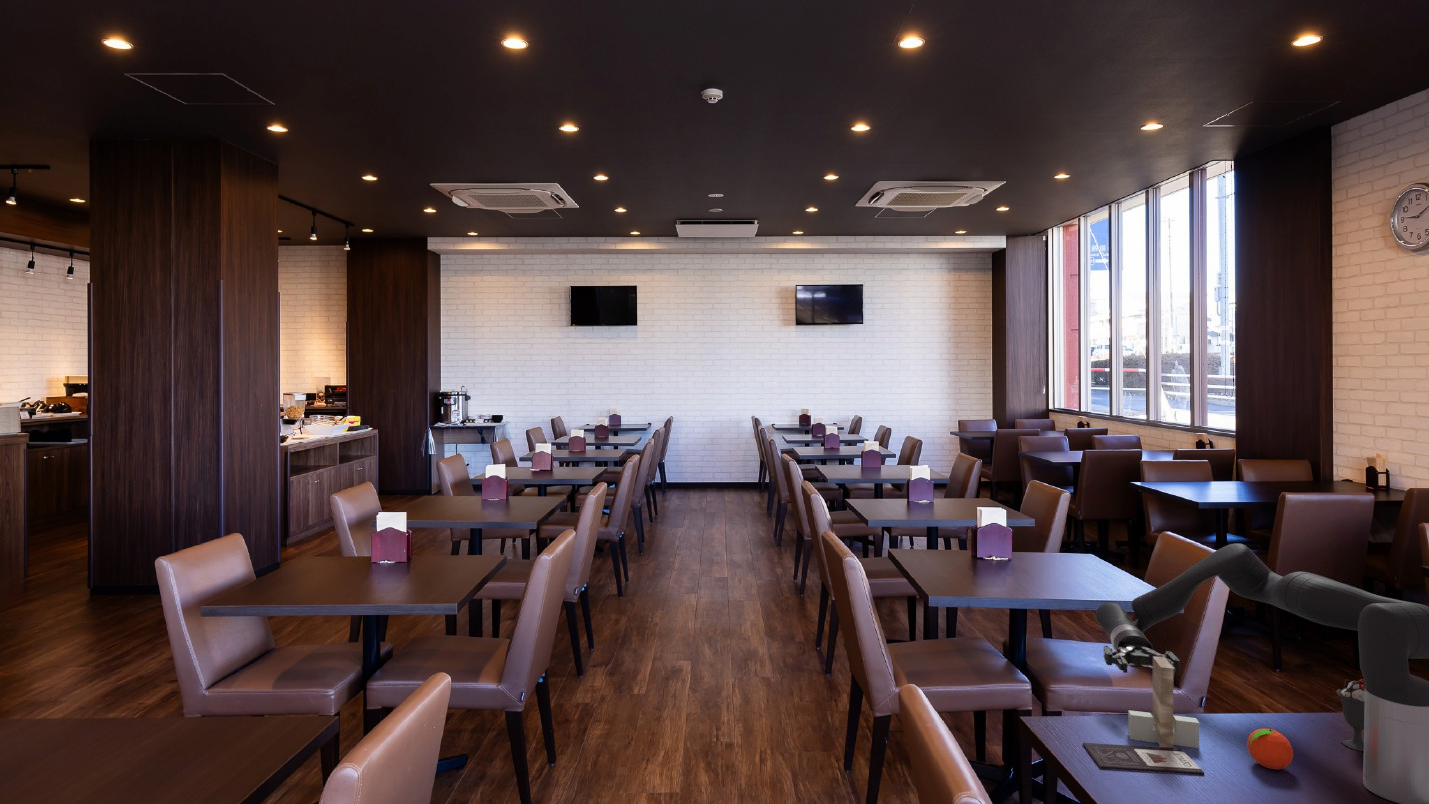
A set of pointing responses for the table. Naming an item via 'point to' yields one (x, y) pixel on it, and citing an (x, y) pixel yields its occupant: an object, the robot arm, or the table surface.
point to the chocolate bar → (1142, 758)
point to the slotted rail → (1146, 731)
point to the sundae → (1354, 710)
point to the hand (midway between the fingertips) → (1147, 670)
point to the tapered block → (1163, 701)
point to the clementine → (1270, 748)
